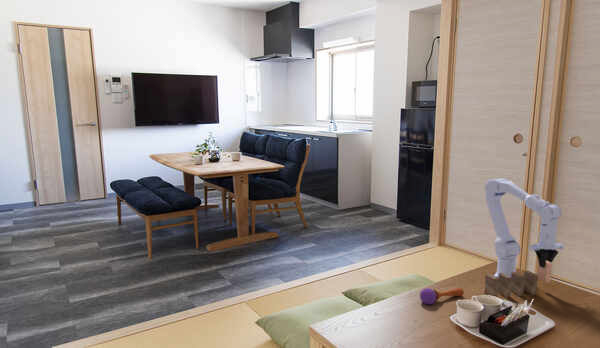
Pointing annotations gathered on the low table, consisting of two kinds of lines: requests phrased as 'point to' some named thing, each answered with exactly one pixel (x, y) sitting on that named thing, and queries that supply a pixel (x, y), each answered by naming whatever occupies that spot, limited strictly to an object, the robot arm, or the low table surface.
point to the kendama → (438, 294)
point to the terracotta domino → (544, 272)
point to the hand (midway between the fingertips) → (544, 266)
